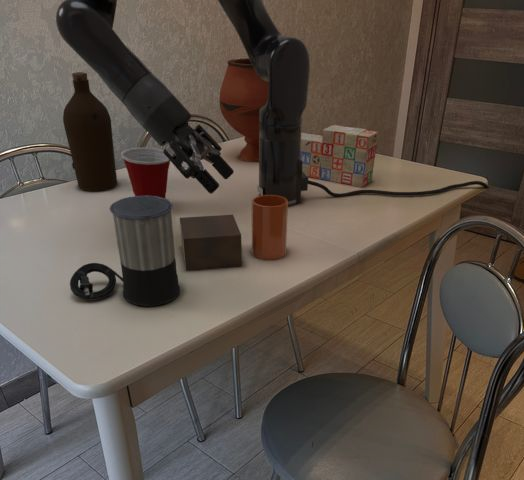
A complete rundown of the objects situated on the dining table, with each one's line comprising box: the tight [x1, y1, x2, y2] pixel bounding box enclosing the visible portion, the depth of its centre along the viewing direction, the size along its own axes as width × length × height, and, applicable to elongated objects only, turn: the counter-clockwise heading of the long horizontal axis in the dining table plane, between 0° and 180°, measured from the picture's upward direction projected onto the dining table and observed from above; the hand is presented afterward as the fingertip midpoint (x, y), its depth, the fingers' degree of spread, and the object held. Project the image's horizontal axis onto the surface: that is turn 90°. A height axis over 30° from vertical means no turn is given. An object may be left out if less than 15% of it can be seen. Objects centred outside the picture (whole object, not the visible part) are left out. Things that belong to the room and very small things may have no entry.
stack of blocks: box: [300, 124, 379, 188], centre depth 136 cm, size 21×6×12 cm, turn 58°
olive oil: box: [62, 71, 118, 192], centre depth 125 cm, size 11×11×25 cm
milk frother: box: [69, 195, 181, 307], centre depth 83 cm, size 14×16×15 cm
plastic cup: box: [120, 147, 171, 199], centre depth 116 cm, size 11×11×12 cm
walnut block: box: [179, 213, 243, 271], centre depth 97 cm, size 10×10×6 cm
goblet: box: [218, 57, 269, 162], centre depth 147 cm, size 19×19×25 cm
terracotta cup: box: [251, 195, 289, 261], centre depth 98 cm, size 6×6×10 cm
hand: (223, 182), depth 95 cm, fingers open, 8 cm apart
